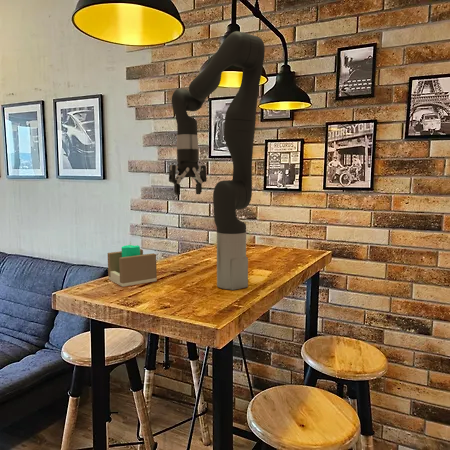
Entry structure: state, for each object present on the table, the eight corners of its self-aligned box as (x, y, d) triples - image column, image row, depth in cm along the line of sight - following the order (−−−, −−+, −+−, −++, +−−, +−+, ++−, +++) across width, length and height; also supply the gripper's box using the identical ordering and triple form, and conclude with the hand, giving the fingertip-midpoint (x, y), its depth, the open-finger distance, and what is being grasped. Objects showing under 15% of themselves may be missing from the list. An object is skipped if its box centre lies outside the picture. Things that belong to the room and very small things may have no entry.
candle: (136, 279, 135) (135, 243, 133) (119, 278, 136) (118, 242, 135) (143, 275, 141) (142, 240, 139) (127, 274, 142) (126, 240, 140)
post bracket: (156, 280, 137) (156, 254, 136) (122, 286, 130) (121, 258, 129) (141, 274, 147) (140, 249, 146) (108, 279, 140) (107, 252, 139)
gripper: (175, 147, 138) (176, 195, 140) (210, 148, 147) (210, 194, 149) (164, 148, 144) (165, 194, 146) (198, 149, 153) (199, 193, 155)
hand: (188, 194), depth 147 cm, fingers open, 8 cm apart
